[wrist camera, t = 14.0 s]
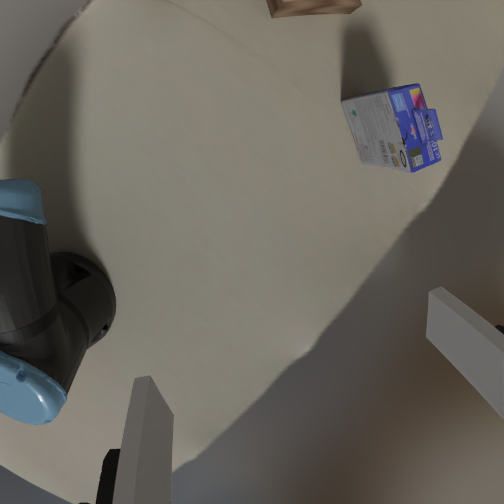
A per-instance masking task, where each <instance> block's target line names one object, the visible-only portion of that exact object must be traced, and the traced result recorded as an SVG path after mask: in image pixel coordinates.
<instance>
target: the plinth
mask: <svg viewBox="0 0 504 504" xmlns="http://www.w3.org/2000/svg"><path fill="white" fill-rule="evenodd" d="M266 1H267V4H268V7H269V10H270V14H271V17H272V18H278V17H288V16H300V15H316V14H350V13H352V12H353V11H354V10H356V9H357V8H359V7H360V6H361V5H362V4H361V1H360V0H266Z"/></svg>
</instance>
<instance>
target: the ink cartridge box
mask: <svg viewBox="0 0 504 504" xmlns="http://www.w3.org/2000/svg"><path fill="white" fill-rule="evenodd" d="M341 103H342V106H343V108H344V111H345V114H346V116H347V119H348V122H349V125H350V128H351V130H352V133H353V136H354V139H355V142H356V145H357V148H358V151H359V154H360V158H361V161H362V163H364V164H369V165H375V166H380V167H387V168H391V169H396V170H401V171H406V172H410V173H412V172H416V171H418V170H420V169H422V168H425V167H427V166H429V165H432V164H434V163H437V162H439V161H441V157H440V153H439V149H438V144H437V141H436V140H443V137H442V133H441V129H440V125H439V122H438V118H437V114H436V110H435V109H427V106H426V102H425V99H424V96H423V93H422V90H421V87H420V84H411V85H405V86H399V87H394V88H389V89H385V90H380V91H376V92H372V93H368V94H363V95H359V96H355V97H351V98H347V99H344V100H342V101H341ZM431 121H432V123H433V125H434V130H433V126H432V123H431Z"/></svg>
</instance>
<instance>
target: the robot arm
mask: <svg viewBox="0 0 504 504" xmlns="http://www.w3.org/2000/svg"><path fill="white" fill-rule="evenodd" d="M46 225H47V220H46V219H45V217H44V211H43V204H42V196H41V191H40V188H39V186H38V185H37V184H36V183H35V182H34V181H32V180H29V179H4V180H0V412H2V413H3V414H5V415H7V416H8V417H10V418H13V419H15V420H17V421H20V422H23V423H27V424H33V425H42V424H47V423H49V422H51V421H52V420H54V419H55V418H56V417H57V415H58V413H59V412H60V410H61V408H62V406H63V404H65V402H66V400H67V394H68V392H69V389H70V387H71V385H72V382H73V380H74V377H75V375H76V373H77V371H78V368H79V366H80V364H81V361H82V359H83V357H84V355H85V352H86V350H87V349H89V348H90V347H91V346H93V345H94V344H95V343H97V342H98V341H99V340H101V339H102V338H103V337H104V336H105V335H106V333H107V332H108V331H109V329H110V327H111V324H112V322H113V320H114V317H115V313H116V299H115V294H114V291H113V288H112V286H111V284H110V282H109V280H108V279H107V277H106V276H105V274H104V273H103V272H102V271H101V270H100V269H99V268H98V267H97V266H96V265H95V264H94V263H93V262H91V261H90V260H88V259H87V258H85V257H83V256H81V255H78V254H75V253H70V252H57V253H53V254H51V255H50V252H49V245H48V238H47V231H46ZM426 337H427V338H428V339H429V340H430V341H431V342H432V343H433V344H434V345H435V346H436V348H438V349H439V350H440V352H441V353H442V354H443V355H444V356H445V357H446V358H447V359H448V360H449V361H450V362H451V363H452V364H453V365H454V366H455V367H456V368H457V369H458V370H459V371H460V372H461V373H462V375H463V376H464V377H465V378H466V379H467V380H468V381H469V382H470V383H471V384H472V385H473V386H474V387H475V388H476V390H477V391H478V392H479V393H480V394H481V395H482V396H483V397H484V398H485V399H486V400H487V402H488V403H489V404H490V405H491V406H492V407H493V408H494V409H495V410H496V412H497V413H498V414H499V415H500V416H501V417H502V418H503V419H504V327H503V326H501V325H497V326H495V327H494V326H492V325H491V324H490V323H488V322H487V321H486V320H485V319H483V318H482V317H481V316H480V315H478V314H477V313H476V312H474V311H473V310H472V309H471V308H469V307H468V306H467V305H465V304H464V303H463V302H461V301H460V300H459V299H457V298H456V297H454V296H453V295H452V294H450V293H449V292H448V291H446V290H445V289H444V288H442V287H439V288H436V289H434V290H432V291H430V292H429V304H428V320H427V332H426ZM173 420H174V415H173V413H172V412H171V410H170V408H169V407H168V405H167V403H166V402H165V400H164V398H163V397H162V395H161V393H160V391H159V390H158V388H157V386H156V385H155V383H154V381H153V379H152V377H151V376H144V377H139V378H135V380H134V384H133V389H132V394H131V398H130V403H129V408H128V413H127V418H126V423H125V428H124V433H123V439H122V444H121V449H110V450H109V452H108V453H107V455H106V456H105V458H104V460H103V465H102V472H101V475H100V481H99V486H98V492H97V498H96V504H171V473H172V442H173ZM79 504H90V503H79Z"/></svg>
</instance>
